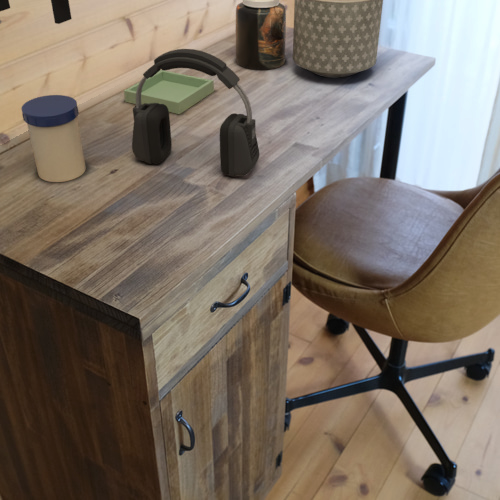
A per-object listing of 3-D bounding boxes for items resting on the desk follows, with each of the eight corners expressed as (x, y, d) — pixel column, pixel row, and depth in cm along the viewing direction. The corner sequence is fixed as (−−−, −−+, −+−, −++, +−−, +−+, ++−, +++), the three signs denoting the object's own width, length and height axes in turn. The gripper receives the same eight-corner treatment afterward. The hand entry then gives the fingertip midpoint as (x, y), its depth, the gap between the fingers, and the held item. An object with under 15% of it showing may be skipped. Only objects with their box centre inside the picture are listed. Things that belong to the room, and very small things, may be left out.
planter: (309, 53, 160) (313, -25, 149) (384, 64, 153) (394, -17, 143) (279, 79, 146) (281, -5, 135) (360, 92, 139) (369, 5, 129)
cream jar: (28, 175, 110) (13, 112, 103) (60, 156, 116) (48, 95, 109) (64, 186, 107) (51, 122, 100) (95, 166, 113) (85, 104, 106)
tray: (125, 101, 136) (123, 90, 134) (162, 80, 145) (161, 69, 144) (179, 114, 130) (178, 102, 129) (214, 91, 140) (213, 80, 139)
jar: (230, 68, 152) (229, 1, 143) (242, 51, 161) (241, -12, 152) (280, 71, 149) (281, 4, 141) (288, 55, 159) (290, -9, 150)
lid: (12, 120, 104) (9, 109, 103) (49, 101, 110) (47, 91, 109) (53, 131, 101) (51, 120, 100) (89, 111, 107) (87, 100, 106)
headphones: (130, 163, 114) (116, 50, 102) (145, 147, 119) (134, 38, 107) (250, 182, 108) (250, 65, 96) (261, 164, 113) (262, 51, 101)
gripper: (89, -156, 81) (111, 19, 94) (-44, -162, 91) (-8, -1, 103) (47, -152, 76) (77, 34, 89) (-89, -159, 85) (-45, 11, 98)
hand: (31, 15), depth 96 cm, fingers open, 12 cm apart
